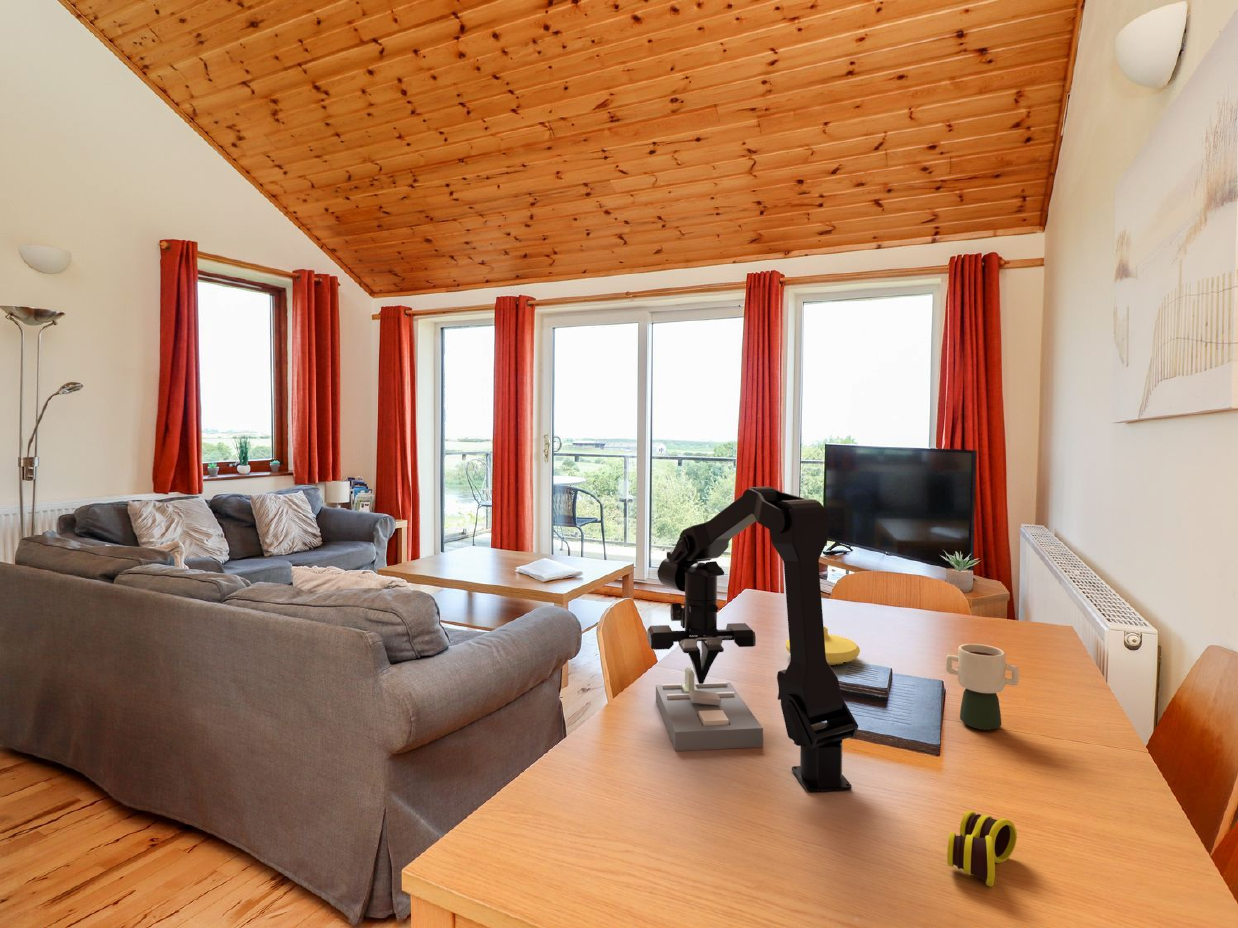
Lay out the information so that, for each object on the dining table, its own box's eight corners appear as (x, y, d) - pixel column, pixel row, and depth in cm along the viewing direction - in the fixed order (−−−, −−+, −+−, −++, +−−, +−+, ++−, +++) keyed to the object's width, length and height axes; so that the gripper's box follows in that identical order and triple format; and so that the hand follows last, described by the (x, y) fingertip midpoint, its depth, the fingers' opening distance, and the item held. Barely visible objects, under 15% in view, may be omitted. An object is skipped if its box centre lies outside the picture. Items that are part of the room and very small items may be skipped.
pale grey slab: (720, 705, 115) (721, 699, 115) (692, 702, 115) (693, 696, 115) (715, 698, 119) (716, 692, 119) (688, 695, 118) (689, 689, 118)
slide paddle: (698, 693, 120) (698, 673, 120) (684, 694, 120) (685, 674, 120) (694, 686, 124) (694, 667, 124) (681, 687, 124) (681, 667, 124)
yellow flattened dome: (876, 666, 145) (876, 633, 145) (815, 675, 139) (815, 641, 139) (827, 645, 160) (828, 615, 159) (770, 653, 154) (771, 622, 154)
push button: (728, 735, 109) (728, 719, 109) (703, 736, 108) (704, 720, 108) (722, 725, 113) (722, 709, 112) (698, 726, 112) (698, 710, 112)
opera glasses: (968, 838, 83) (969, 798, 83) (1017, 856, 79) (1018, 814, 79) (941, 875, 76) (941, 832, 76) (993, 897, 72) (994, 851, 72)
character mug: (1019, 726, 115) (1021, 650, 114) (1014, 741, 109) (1016, 661, 108) (948, 711, 121) (950, 638, 121) (940, 724, 115) (942, 649, 115)
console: (762, 746, 107) (763, 724, 107) (675, 750, 106) (675, 728, 106) (729, 698, 127) (730, 679, 127) (655, 701, 126) (655, 681, 126)
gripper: (739, 586, 131) (739, 666, 131) (643, 588, 129) (643, 669, 129) (756, 600, 119) (756, 687, 120) (651, 602, 118) (651, 691, 118)
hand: (700, 682), depth 122 cm, fingers closed
